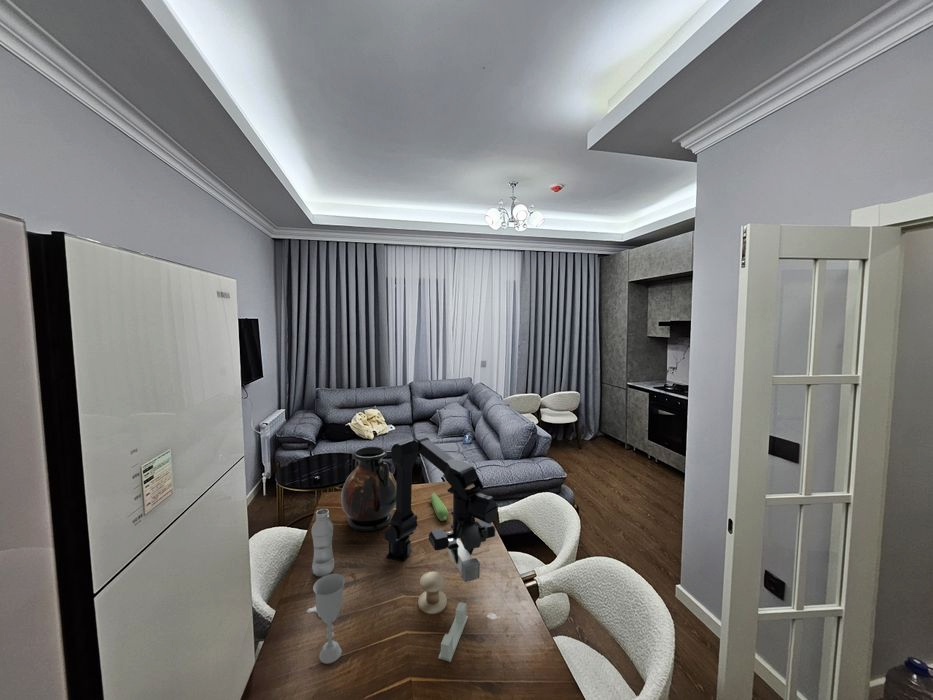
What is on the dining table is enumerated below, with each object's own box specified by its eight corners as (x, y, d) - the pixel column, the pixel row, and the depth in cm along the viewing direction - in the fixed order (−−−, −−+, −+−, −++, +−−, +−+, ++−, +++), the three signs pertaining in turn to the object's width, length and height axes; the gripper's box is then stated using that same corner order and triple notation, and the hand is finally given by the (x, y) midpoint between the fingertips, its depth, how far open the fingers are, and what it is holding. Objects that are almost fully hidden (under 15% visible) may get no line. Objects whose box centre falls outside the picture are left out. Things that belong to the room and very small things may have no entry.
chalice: (327, 672, 89) (325, 599, 87) (308, 658, 93) (306, 587, 91) (352, 649, 95) (351, 580, 93) (333, 636, 99) (332, 570, 97)
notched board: (438, 658, 93) (438, 643, 93) (457, 615, 107) (457, 601, 106) (450, 662, 93) (450, 646, 92) (467, 617, 106) (468, 604, 105)
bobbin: (413, 609, 108) (413, 586, 108) (425, 590, 116) (425, 568, 115) (440, 617, 106) (441, 592, 105) (450, 596, 114) (451, 573, 113)
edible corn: (437, 514, 151) (448, 509, 152) (426, 492, 170) (436, 488, 171) (440, 526, 152) (451, 521, 153) (430, 503, 171) (439, 499, 172)
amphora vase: (409, 517, 156) (410, 449, 153) (369, 544, 138) (368, 467, 135) (370, 502, 168) (370, 438, 165) (328, 525, 149) (327, 453, 147)
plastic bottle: (339, 568, 125) (338, 508, 123) (324, 582, 118) (323, 519, 116) (322, 563, 127) (321, 504, 125) (307, 577, 120) (306, 515, 118)
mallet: (446, 552, 119) (446, 539, 119) (459, 549, 121) (459, 536, 121) (464, 582, 106) (465, 567, 106) (479, 578, 108) (479, 563, 108)
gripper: (442, 531, 101) (441, 588, 102) (505, 517, 109) (504, 570, 110) (428, 511, 111) (427, 563, 113) (487, 499, 119) (486, 548, 120)
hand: (462, 561), depth 114 cm, fingers closed on mallet, 3 cm apart
